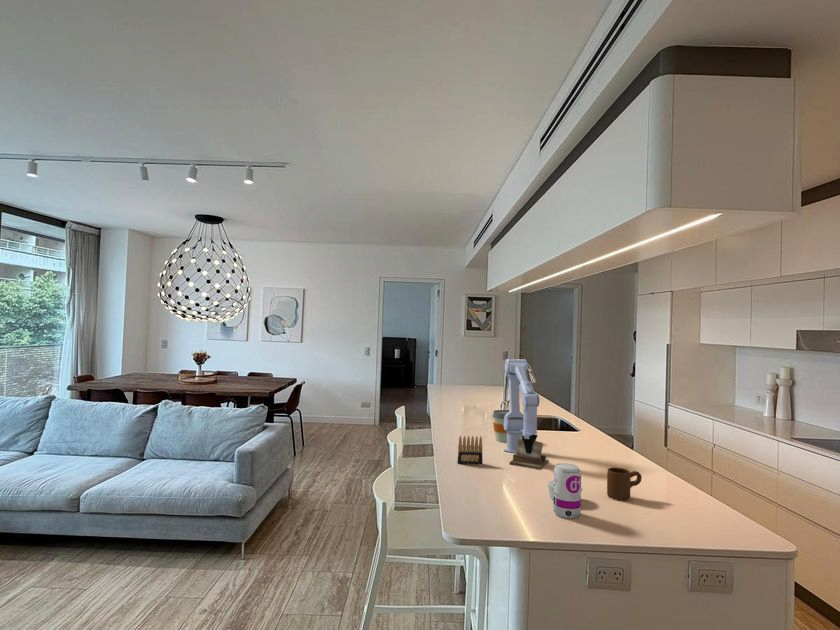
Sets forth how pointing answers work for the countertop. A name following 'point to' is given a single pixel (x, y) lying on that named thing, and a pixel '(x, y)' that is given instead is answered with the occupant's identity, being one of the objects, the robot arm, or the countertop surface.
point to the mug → (621, 483)
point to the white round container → (551, 489)
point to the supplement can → (567, 490)
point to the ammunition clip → (470, 451)
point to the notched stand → (529, 461)
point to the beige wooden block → (535, 449)
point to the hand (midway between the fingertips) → (529, 452)
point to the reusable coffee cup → (500, 425)
